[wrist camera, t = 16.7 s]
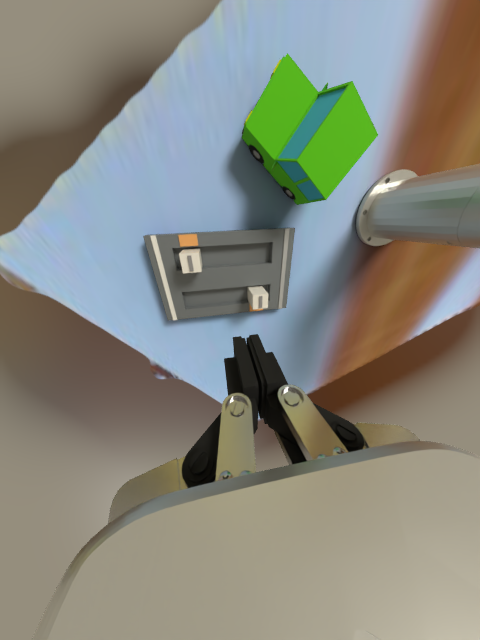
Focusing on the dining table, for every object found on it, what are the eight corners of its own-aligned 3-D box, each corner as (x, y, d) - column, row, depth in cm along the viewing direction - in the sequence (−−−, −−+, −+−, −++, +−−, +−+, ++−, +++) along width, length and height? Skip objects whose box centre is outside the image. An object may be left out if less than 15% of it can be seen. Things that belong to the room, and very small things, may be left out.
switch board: (289, 227, 33) (295, 228, 31) (281, 303, 41) (286, 307, 39) (148, 234, 30) (142, 236, 28) (170, 314, 38) (167, 321, 36)
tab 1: (199, 248, 31) (198, 252, 27) (202, 265, 33) (201, 272, 28) (183, 249, 31) (178, 254, 26) (186, 266, 32) (182, 273, 28)
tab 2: (261, 284, 37) (268, 294, 32) (260, 297, 38) (268, 308, 34) (247, 286, 36) (253, 295, 32) (247, 299, 38) (253, 310, 33)
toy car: (278, 67, 23) (319, -22, 15) (332, 153, 29) (385, 125, 20) (233, 146, 26) (245, 111, 18) (290, 210, 32) (320, 206, 23)
